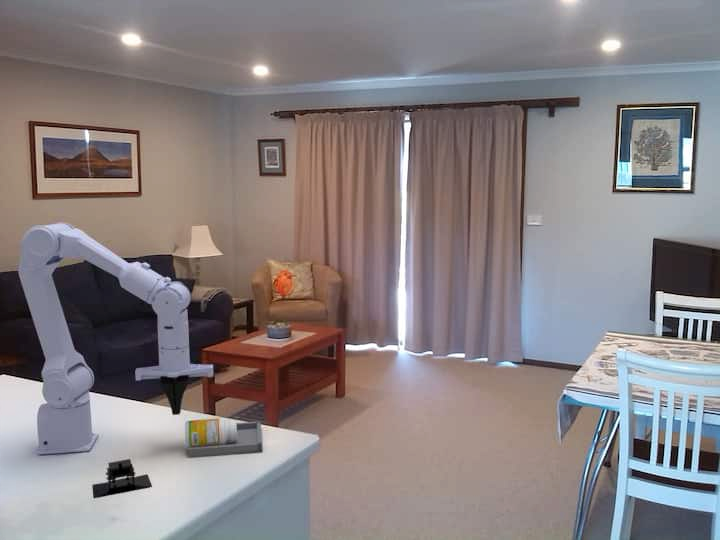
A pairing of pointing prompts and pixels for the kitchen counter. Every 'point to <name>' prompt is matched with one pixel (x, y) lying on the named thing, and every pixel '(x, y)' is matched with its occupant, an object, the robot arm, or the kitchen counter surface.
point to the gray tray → (245, 443)
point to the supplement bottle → (209, 432)
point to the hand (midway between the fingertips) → (176, 412)
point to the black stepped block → (120, 480)
